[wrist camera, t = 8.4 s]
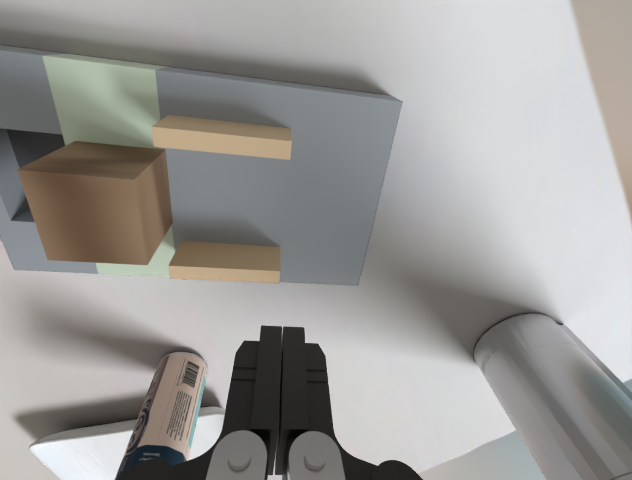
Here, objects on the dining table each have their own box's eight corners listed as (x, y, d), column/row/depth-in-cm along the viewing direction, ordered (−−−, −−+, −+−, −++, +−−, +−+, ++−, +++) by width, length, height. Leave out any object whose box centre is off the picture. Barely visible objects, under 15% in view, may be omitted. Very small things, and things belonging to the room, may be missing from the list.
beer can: (153, 350, 32) (93, 495, 22) (203, 345, 32) (167, 486, 22) (167, 381, 35) (119, 524, 24) (213, 376, 35) (185, 516, 25)
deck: (390, 95, 22) (420, 111, 17) (352, 267, 29) (365, 311, 24) (-40, 39, 18) (-149, 40, 14) (36, 250, 25) (-19, 298, 21)
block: (165, 149, 20) (134, 179, 16) (172, 222, 23) (147, 265, 18) (75, 140, 19) (16, 169, 15) (93, 217, 22) (47, 260, 18)
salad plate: (231, 385, 36) (226, 415, 34) (270, 475, 48) (269, 504, 45) (40, 416, 36) (19, 449, 33) (124, 499, 48) (113, 529, 45)
